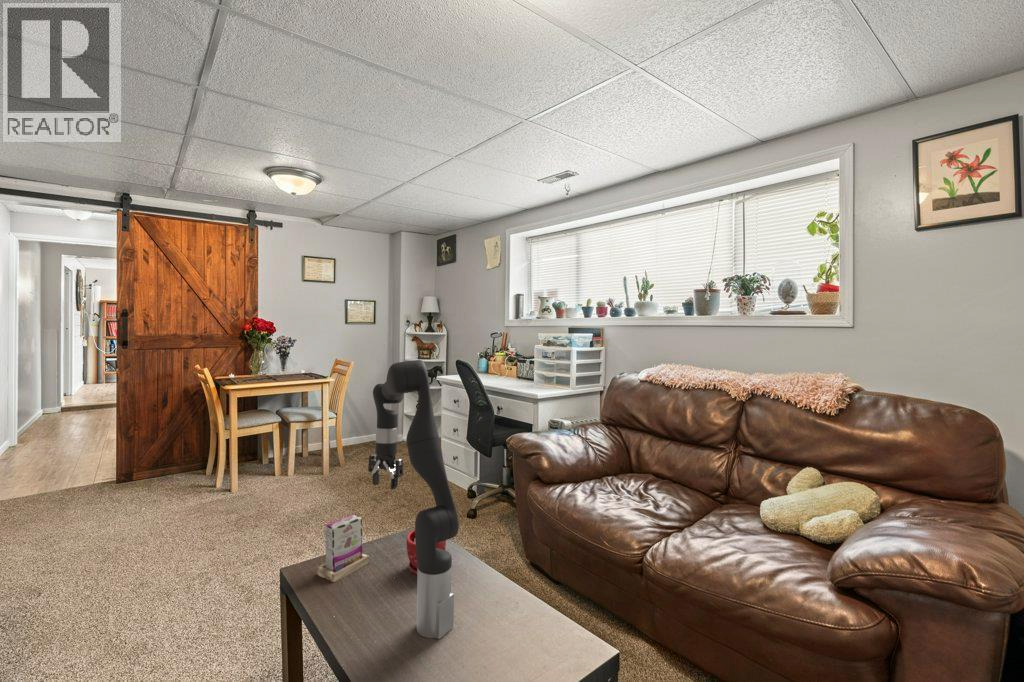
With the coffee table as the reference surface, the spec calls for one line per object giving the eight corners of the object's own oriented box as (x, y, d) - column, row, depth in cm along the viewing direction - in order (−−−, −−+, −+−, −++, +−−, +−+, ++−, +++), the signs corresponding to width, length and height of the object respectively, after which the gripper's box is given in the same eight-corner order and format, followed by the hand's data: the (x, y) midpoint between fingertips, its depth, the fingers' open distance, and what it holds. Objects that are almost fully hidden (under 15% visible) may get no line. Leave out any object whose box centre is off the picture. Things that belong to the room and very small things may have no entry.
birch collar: (369, 563, 163) (369, 556, 163) (334, 582, 151) (334, 574, 151) (352, 556, 168) (352, 549, 167) (316, 574, 155) (316, 567, 155)
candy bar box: (353, 560, 165) (354, 513, 164) (362, 564, 162) (363, 517, 161) (324, 573, 156) (324, 524, 155) (332, 578, 153) (333, 528, 152)
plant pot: (402, 563, 163) (402, 529, 163) (439, 556, 169) (440, 523, 168) (411, 583, 151) (411, 546, 151) (450, 574, 157) (451, 539, 156)
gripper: (409, 441, 167) (407, 487, 166) (379, 436, 174) (377, 481, 173) (394, 444, 160) (392, 492, 160) (363, 439, 167) (362, 485, 167)
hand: (384, 486), depth 166 cm, fingers open, 8 cm apart
